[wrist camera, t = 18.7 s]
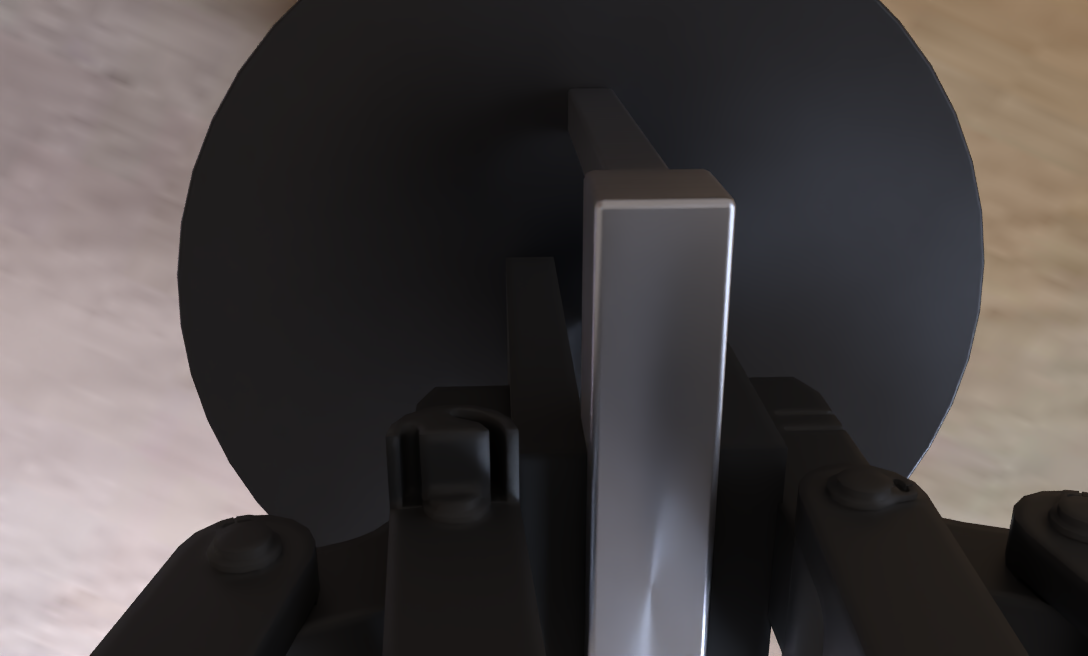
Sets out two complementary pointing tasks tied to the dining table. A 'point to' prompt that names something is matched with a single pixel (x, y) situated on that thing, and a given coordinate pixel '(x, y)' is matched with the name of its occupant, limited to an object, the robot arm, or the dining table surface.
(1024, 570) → the robot arm
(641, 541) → the lid
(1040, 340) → the dining table surface
